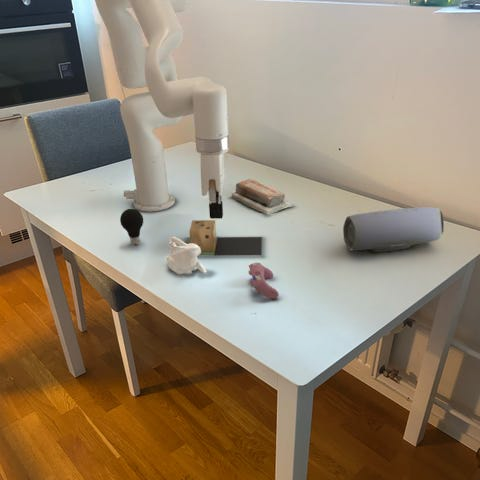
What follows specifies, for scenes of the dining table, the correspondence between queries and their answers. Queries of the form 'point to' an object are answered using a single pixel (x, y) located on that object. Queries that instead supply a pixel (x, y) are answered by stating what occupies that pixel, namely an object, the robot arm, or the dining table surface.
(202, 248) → the die
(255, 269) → the video game controller
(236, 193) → the packaged product
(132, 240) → the light bulb
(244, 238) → the dice mat
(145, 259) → the dining table surface
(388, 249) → the bluetooth speaker
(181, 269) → the rabbit figurine
